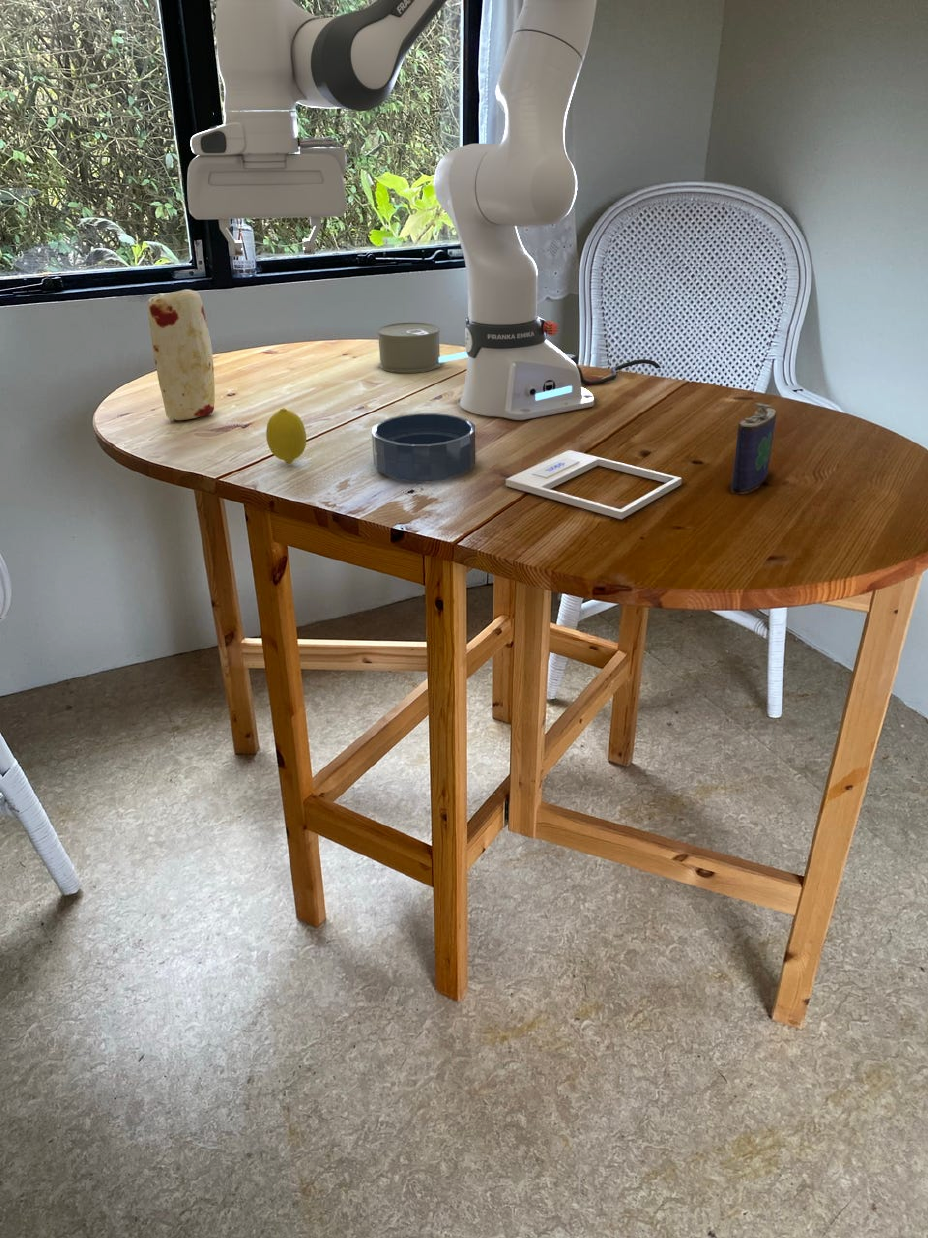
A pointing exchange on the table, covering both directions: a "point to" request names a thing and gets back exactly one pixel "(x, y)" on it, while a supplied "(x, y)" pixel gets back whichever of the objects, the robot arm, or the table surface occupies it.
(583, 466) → the photo frame
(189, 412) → the food model
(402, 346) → the can
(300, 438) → the lemon
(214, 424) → the table surface
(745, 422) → the flask
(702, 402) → the table surface
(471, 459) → the bowl
